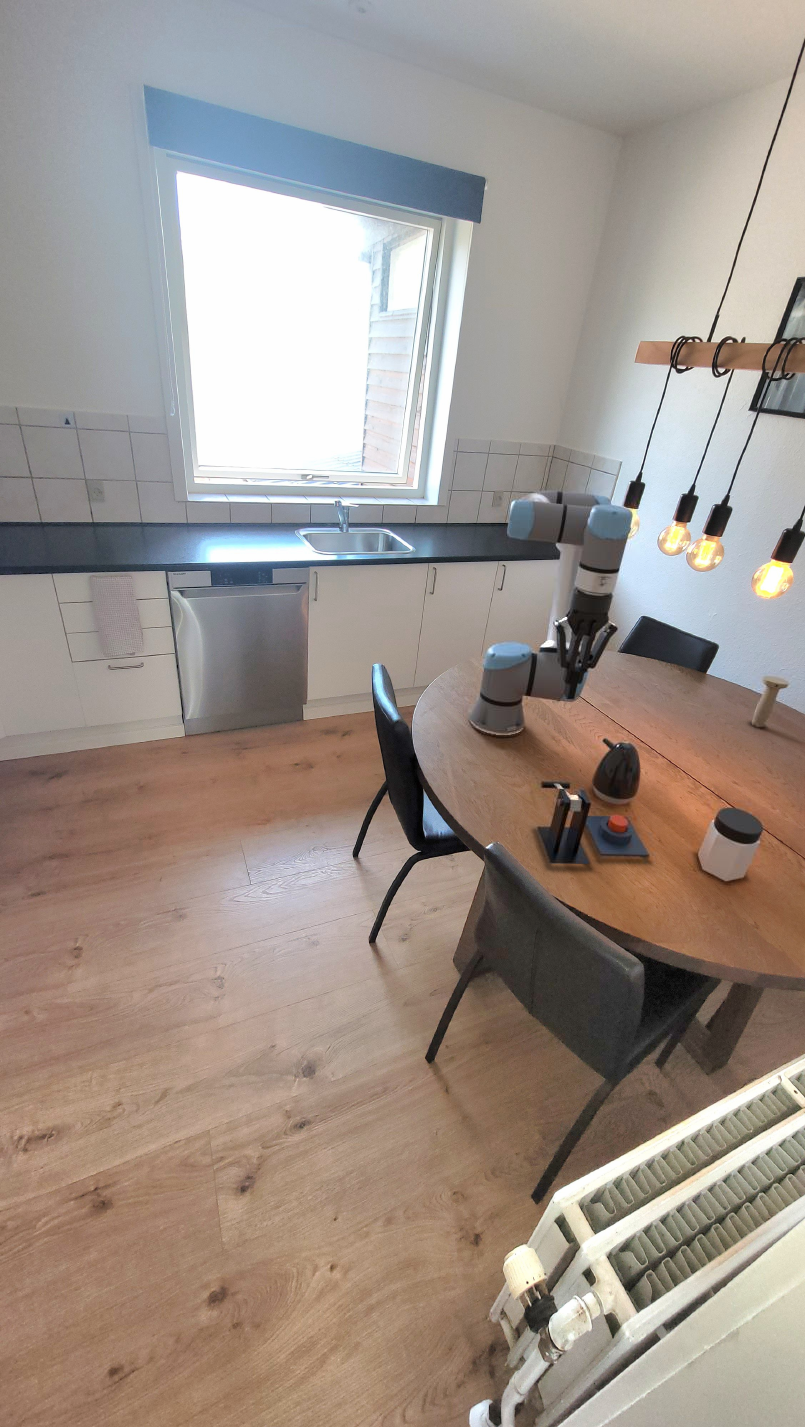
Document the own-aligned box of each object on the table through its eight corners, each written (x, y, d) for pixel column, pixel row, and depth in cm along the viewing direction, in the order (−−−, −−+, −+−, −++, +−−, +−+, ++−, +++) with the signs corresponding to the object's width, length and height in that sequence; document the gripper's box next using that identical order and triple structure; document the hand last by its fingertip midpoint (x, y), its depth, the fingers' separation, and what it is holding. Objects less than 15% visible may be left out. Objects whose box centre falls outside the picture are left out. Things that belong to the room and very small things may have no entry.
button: (605, 822, 124) (607, 814, 123) (621, 822, 124) (624, 814, 123) (611, 833, 121) (613, 825, 120) (628, 833, 121) (630, 826, 120)
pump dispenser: (597, 779, 144) (612, 726, 137) (639, 798, 139) (657, 743, 131) (580, 798, 137) (595, 742, 130) (623, 818, 131) (641, 761, 124)
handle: (770, 731, 172) (790, 685, 165) (746, 726, 174) (765, 681, 167) (767, 724, 176) (786, 679, 169) (744, 719, 178) (762, 674, 171)
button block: (580, 822, 129) (584, 807, 127) (624, 823, 130) (629, 808, 128) (599, 860, 119) (603, 845, 117) (646, 861, 119) (652, 846, 118)
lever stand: (535, 831, 125) (547, 778, 119) (572, 832, 126) (586, 779, 119) (549, 868, 116) (563, 813, 109) (588, 869, 116) (605, 814, 110)
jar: (749, 868, 120) (771, 822, 114) (737, 888, 114) (759, 841, 109) (704, 845, 125) (723, 800, 119) (690, 864, 120) (709, 818, 114)
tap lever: (540, 788, 126) (541, 778, 126) (567, 789, 127) (568, 779, 126) (560, 811, 114) (561, 799, 113) (590, 811, 114) (591, 800, 114)
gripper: (567, 594, 110) (543, 704, 122) (633, 597, 111) (604, 705, 123) (555, 582, 117) (534, 687, 129) (618, 585, 118) (592, 688, 130)
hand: (568, 696), depth 126 cm, fingers closed
